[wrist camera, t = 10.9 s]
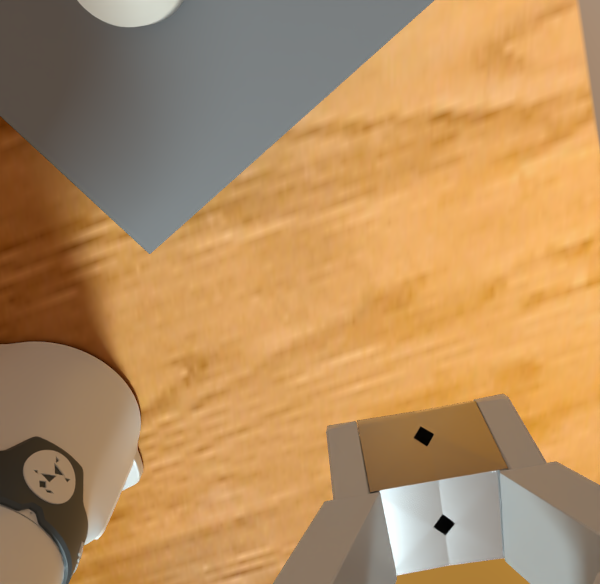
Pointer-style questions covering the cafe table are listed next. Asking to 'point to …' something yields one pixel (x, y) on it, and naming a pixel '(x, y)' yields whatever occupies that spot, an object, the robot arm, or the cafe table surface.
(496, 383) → the cafe table surface
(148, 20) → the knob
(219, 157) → the dial plate
